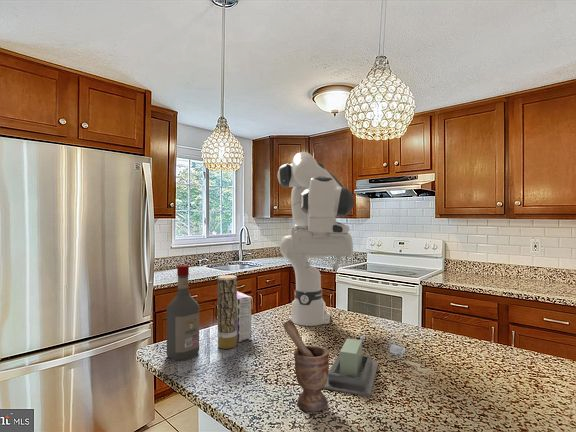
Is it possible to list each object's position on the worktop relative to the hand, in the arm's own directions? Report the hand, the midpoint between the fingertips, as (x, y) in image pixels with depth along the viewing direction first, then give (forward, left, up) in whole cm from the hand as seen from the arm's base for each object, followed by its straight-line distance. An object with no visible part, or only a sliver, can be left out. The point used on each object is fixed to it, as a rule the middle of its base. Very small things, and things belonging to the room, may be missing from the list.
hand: (321, 268), depth 111 cm
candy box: (-11, -37, -30) cm, 49 cm away
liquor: (+12, -45, -30) cm, 55 cm away
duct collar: (+8, +11, -30) cm, 33 cm away
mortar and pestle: (+27, +3, -30) cm, 40 cm away
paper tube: (0, -35, -30) cm, 46 cm away
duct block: (+8, +11, -29) cm, 32 cm away
